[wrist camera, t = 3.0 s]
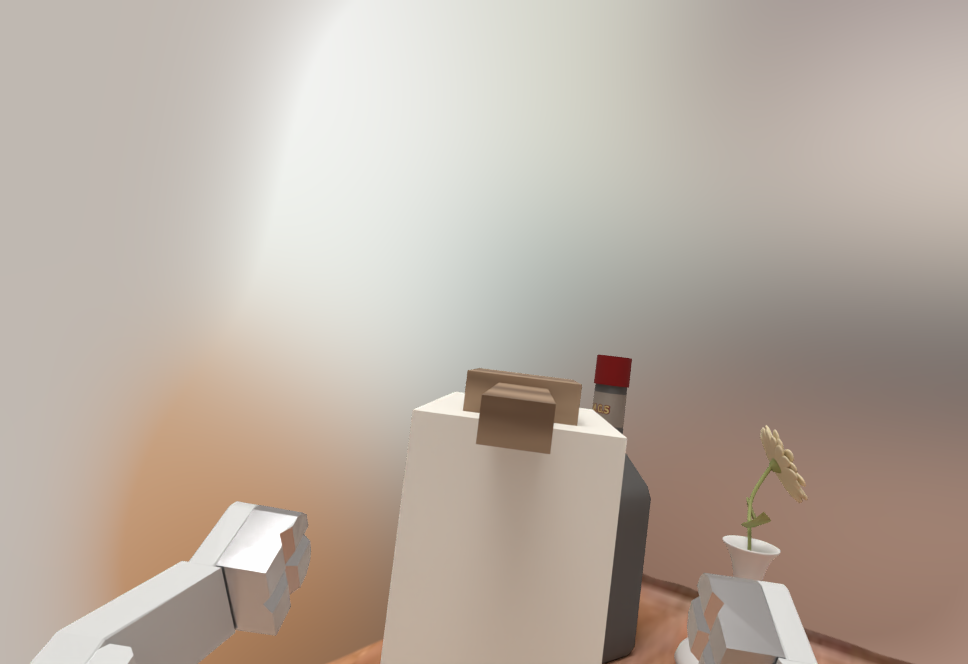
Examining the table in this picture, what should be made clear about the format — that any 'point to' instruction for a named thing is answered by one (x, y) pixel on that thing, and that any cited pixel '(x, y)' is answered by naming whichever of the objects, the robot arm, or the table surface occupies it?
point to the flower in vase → (746, 551)
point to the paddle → (520, 408)
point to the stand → (503, 544)
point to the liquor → (622, 516)
